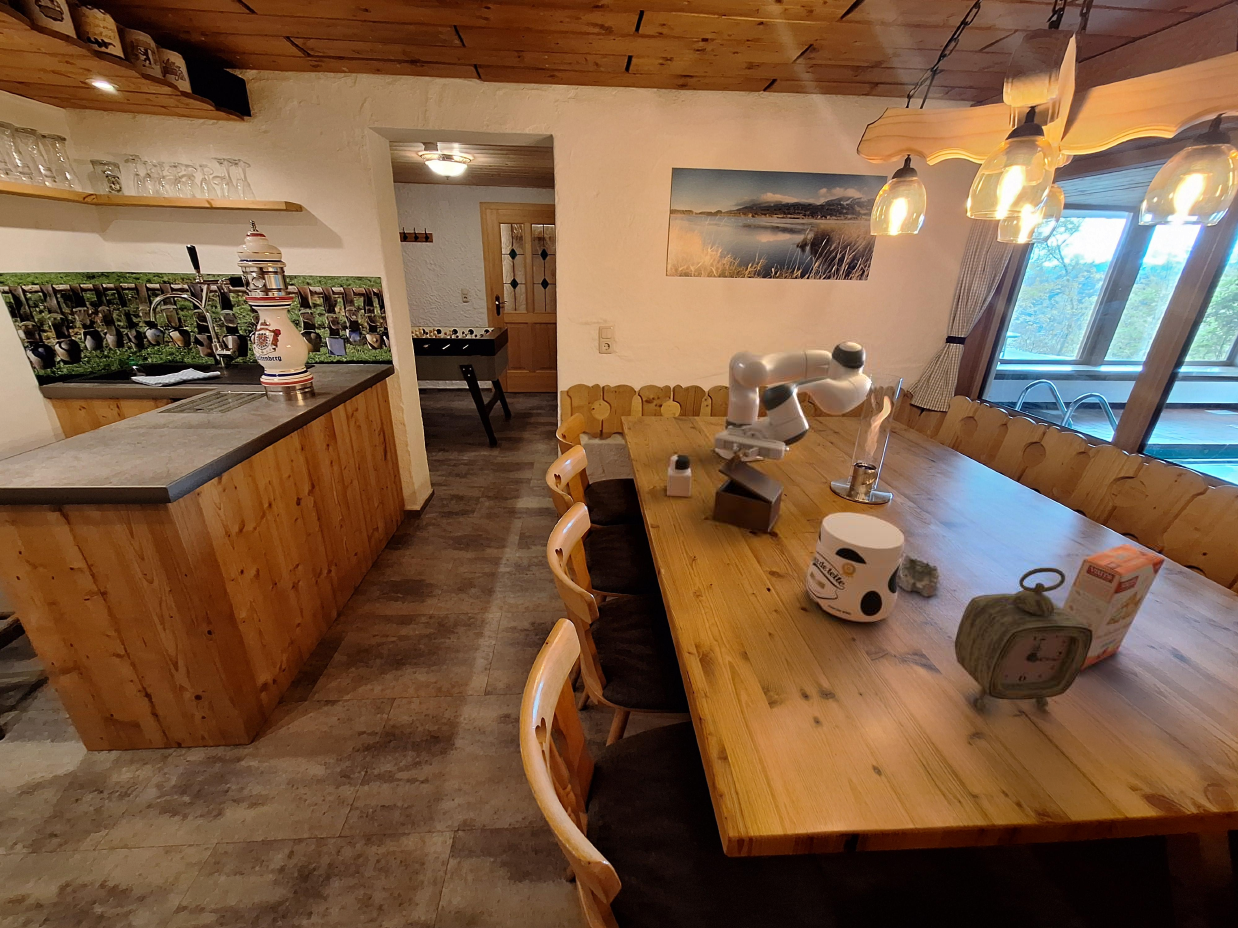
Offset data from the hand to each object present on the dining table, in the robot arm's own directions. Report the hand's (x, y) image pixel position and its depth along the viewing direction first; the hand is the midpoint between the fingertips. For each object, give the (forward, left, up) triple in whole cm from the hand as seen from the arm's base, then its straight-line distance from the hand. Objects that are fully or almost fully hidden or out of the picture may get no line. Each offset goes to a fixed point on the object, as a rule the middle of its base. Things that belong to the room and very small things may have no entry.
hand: (740, 453), depth 136 cm
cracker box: (+21, +74, -19) cm, 79 cm away
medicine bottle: (-6, -20, -19) cm, 29 cm away
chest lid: (0, +4, -7) cm, 8 cm away
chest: (0, +4, -19) cm, 19 cm away
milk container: (+28, +34, -19) cm, 48 cm away
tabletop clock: (+41, +59, -19) cm, 74 cm away
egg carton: (+11, +47, -19) cm, 52 cm away
